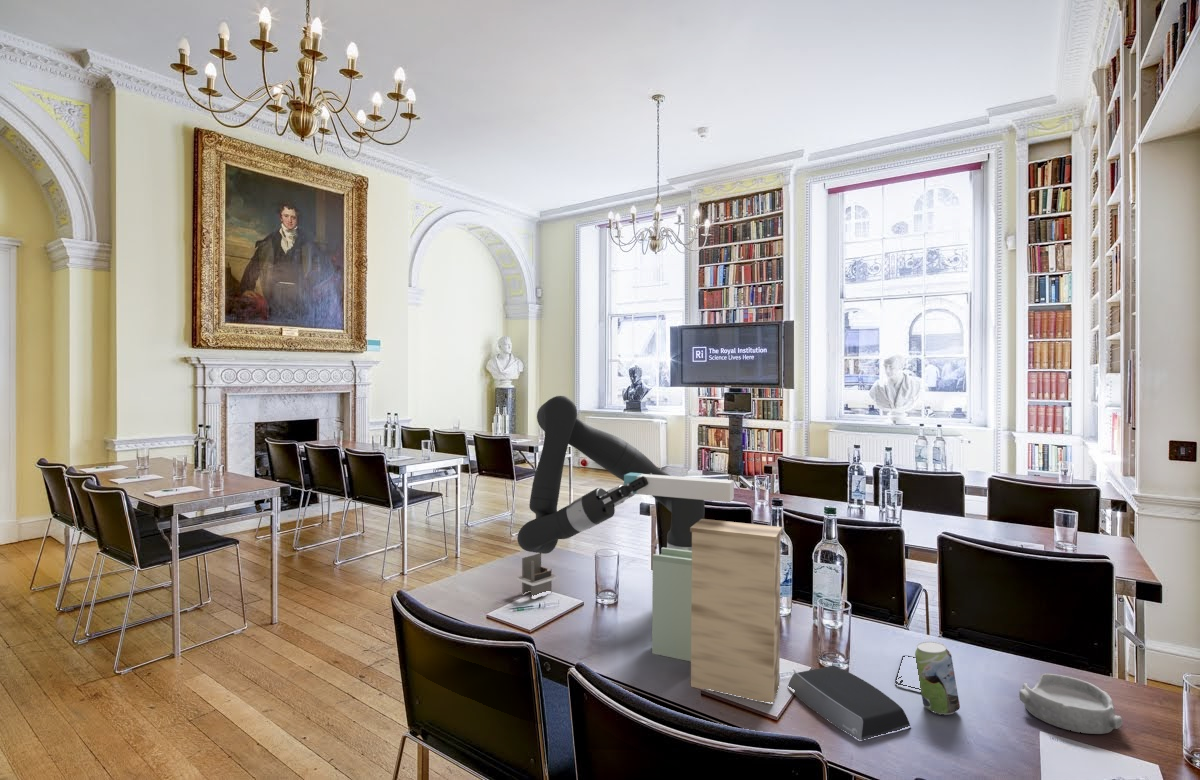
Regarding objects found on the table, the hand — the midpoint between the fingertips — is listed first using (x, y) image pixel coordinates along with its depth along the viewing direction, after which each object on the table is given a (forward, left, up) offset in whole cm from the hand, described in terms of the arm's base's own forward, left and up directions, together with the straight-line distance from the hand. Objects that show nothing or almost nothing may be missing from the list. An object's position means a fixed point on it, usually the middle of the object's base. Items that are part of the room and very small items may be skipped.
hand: (649, 478), depth 135 cm
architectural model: (-20, -41, -40) cm, 61 cm away
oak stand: (+8, +21, -39) cm, 45 cm away
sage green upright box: (-2, +7, -39) cm, 40 cm away
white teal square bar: (0, +7, -3) cm, 7 cm away
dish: (-8, +79, -40) cm, 89 cm away
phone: (-13, +55, -40) cm, 69 cm away
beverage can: (0, +57, -39) cm, 70 cm away
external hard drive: (+6, +42, -40) cm, 58 cm away
